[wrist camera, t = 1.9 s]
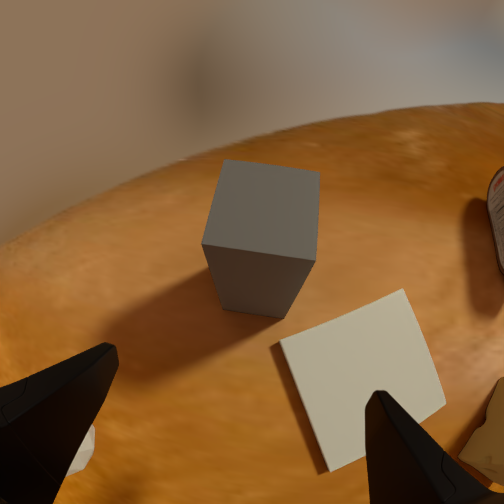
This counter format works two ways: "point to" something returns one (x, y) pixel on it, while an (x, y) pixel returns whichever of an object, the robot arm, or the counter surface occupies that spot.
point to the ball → (83, 452)
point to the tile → (361, 373)
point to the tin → (497, 214)
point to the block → (262, 235)
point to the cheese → (489, 440)
